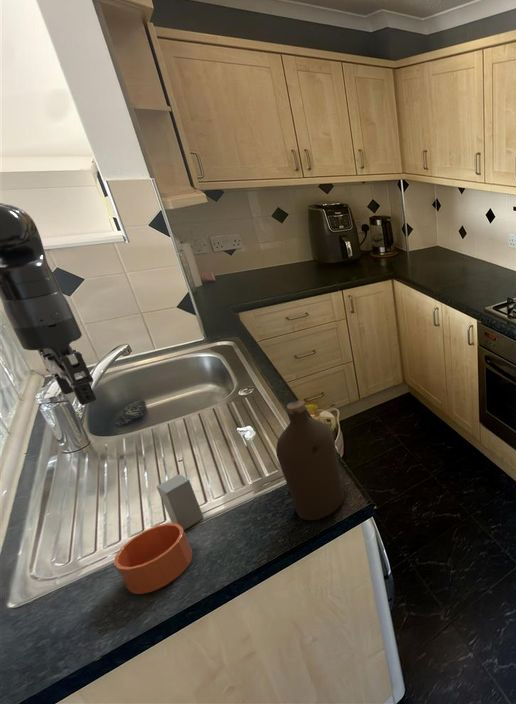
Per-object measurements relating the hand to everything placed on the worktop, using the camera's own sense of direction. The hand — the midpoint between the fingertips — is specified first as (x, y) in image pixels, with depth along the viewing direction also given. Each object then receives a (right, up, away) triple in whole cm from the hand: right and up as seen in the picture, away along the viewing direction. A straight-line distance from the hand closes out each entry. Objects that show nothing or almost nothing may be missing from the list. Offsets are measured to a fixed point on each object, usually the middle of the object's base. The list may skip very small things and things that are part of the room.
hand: (79, 397), depth 78 cm
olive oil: (+42, -25, +10) cm, 50 cm away
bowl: (+19, -31, -4) cm, 37 cm away
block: (+16, -27, +6) cm, 32 cm away
